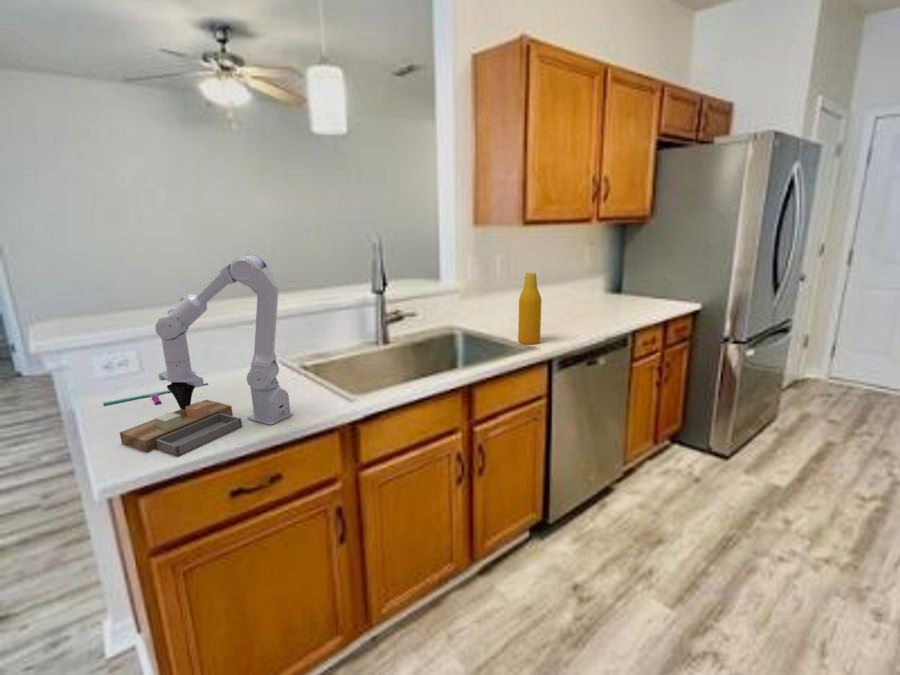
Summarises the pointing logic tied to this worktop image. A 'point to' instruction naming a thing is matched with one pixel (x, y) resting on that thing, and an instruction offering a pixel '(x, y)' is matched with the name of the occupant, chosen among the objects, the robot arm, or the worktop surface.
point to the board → (149, 432)
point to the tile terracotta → (197, 410)
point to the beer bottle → (529, 312)
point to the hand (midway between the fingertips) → (185, 407)
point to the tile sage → (168, 421)
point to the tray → (197, 434)
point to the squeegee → (153, 395)
